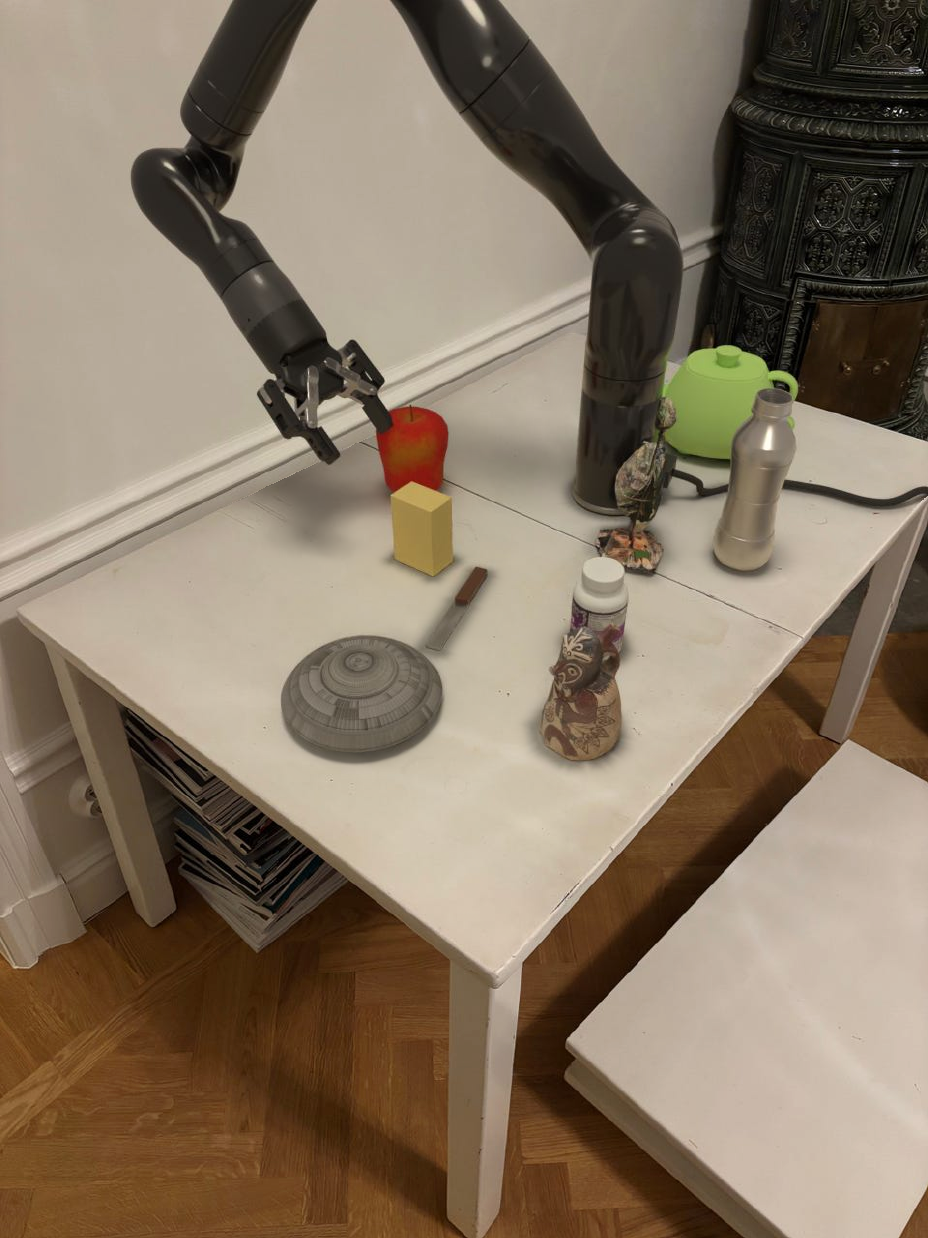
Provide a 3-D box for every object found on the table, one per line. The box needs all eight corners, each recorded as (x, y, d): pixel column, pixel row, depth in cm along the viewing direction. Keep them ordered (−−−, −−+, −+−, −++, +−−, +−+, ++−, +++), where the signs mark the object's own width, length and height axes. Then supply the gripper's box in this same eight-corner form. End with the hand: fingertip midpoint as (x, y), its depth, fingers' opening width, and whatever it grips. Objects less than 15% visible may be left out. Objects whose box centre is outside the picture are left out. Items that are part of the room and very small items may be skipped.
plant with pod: (676, 529, 111) (702, 369, 98) (652, 583, 102) (678, 416, 90) (609, 514, 113) (626, 357, 100) (581, 566, 105) (596, 401, 92)
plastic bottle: (736, 584, 102) (773, 417, 89) (697, 552, 107) (726, 389, 94) (781, 568, 104) (824, 402, 92) (741, 537, 109) (776, 376, 96)
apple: (371, 504, 115) (363, 416, 108) (393, 470, 121) (387, 385, 114) (438, 514, 113) (435, 425, 106) (457, 479, 120) (455, 393, 112)
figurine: (531, 710, 88) (536, 610, 80) (603, 698, 89) (615, 598, 81) (554, 767, 82) (562, 665, 75) (630, 753, 83) (646, 652, 76)
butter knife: (474, 572, 104) (474, 565, 104) (488, 575, 104) (488, 569, 103) (425, 647, 95) (425, 640, 94) (440, 650, 94) (439, 644, 94)
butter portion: (414, 544, 109) (411, 480, 103) (453, 561, 106) (451, 497, 100) (394, 559, 106) (390, 495, 101) (433, 577, 104) (430, 511, 98)
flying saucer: (381, 787, 81) (376, 744, 77) (249, 722, 87) (239, 678, 83) (472, 684, 90) (472, 641, 87) (348, 632, 97) (343, 590, 93)
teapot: (613, 456, 124) (623, 362, 116) (631, 405, 135) (641, 316, 127) (786, 480, 119) (809, 383, 110) (790, 425, 130) (811, 334, 122)
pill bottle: (564, 629, 97) (570, 553, 90) (615, 626, 97) (625, 550, 91) (573, 665, 92) (580, 587, 86) (627, 661, 93) (637, 584, 87)
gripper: (236, 320, 93) (332, 457, 95) (335, 279, 102) (421, 405, 104) (210, 358, 99) (301, 486, 101) (306, 316, 108) (387, 434, 110)
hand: (362, 444), depth 102 cm, fingers open, 8 cm apart
